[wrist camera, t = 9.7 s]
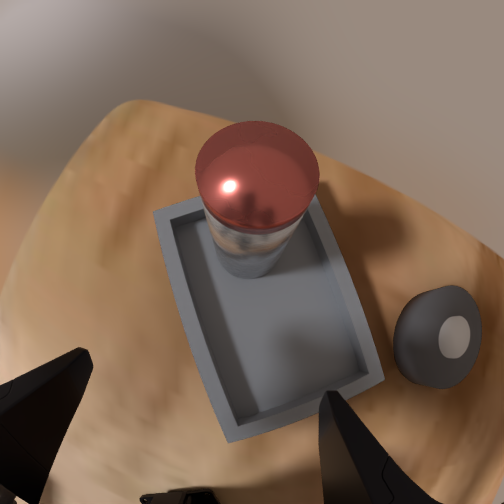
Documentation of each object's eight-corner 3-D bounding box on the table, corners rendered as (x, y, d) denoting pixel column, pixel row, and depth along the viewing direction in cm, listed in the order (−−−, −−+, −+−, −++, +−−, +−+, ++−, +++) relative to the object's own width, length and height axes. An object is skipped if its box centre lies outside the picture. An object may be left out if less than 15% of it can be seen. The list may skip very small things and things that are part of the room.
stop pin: (276, 282, 18) (318, 232, 9) (211, 274, 18) (182, 215, 9) (282, 221, 20) (318, 130, 10) (221, 214, 20) (208, 116, 10)
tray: (369, 374, 18) (385, 379, 15) (229, 430, 16) (228, 443, 14) (296, 184, 22) (302, 167, 19) (162, 224, 20) (152, 211, 18)
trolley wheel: (466, 355, 18) (492, 355, 15) (405, 401, 17) (431, 410, 14) (445, 277, 20) (471, 269, 17) (381, 314, 19) (406, 310, 16)
